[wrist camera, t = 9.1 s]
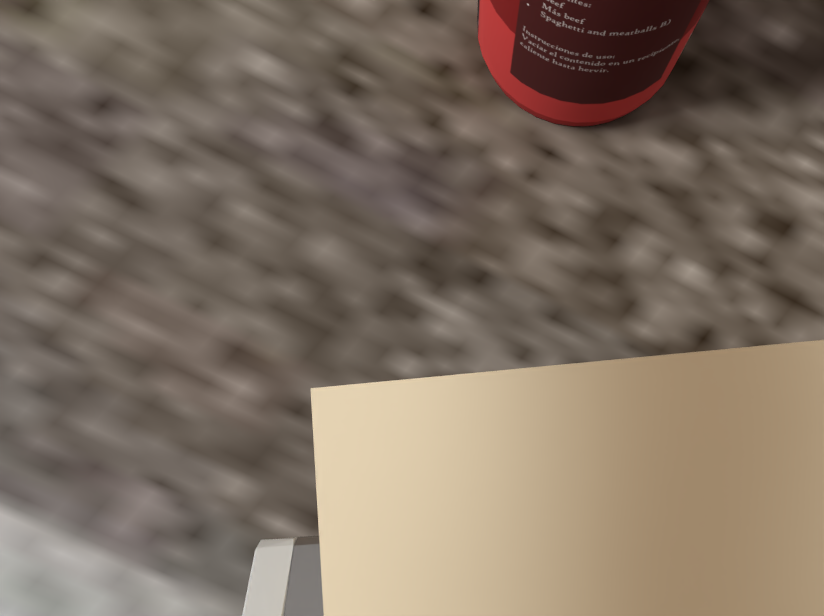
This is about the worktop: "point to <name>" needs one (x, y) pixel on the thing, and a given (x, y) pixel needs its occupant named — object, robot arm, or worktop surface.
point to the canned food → (583, 53)
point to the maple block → (578, 489)
